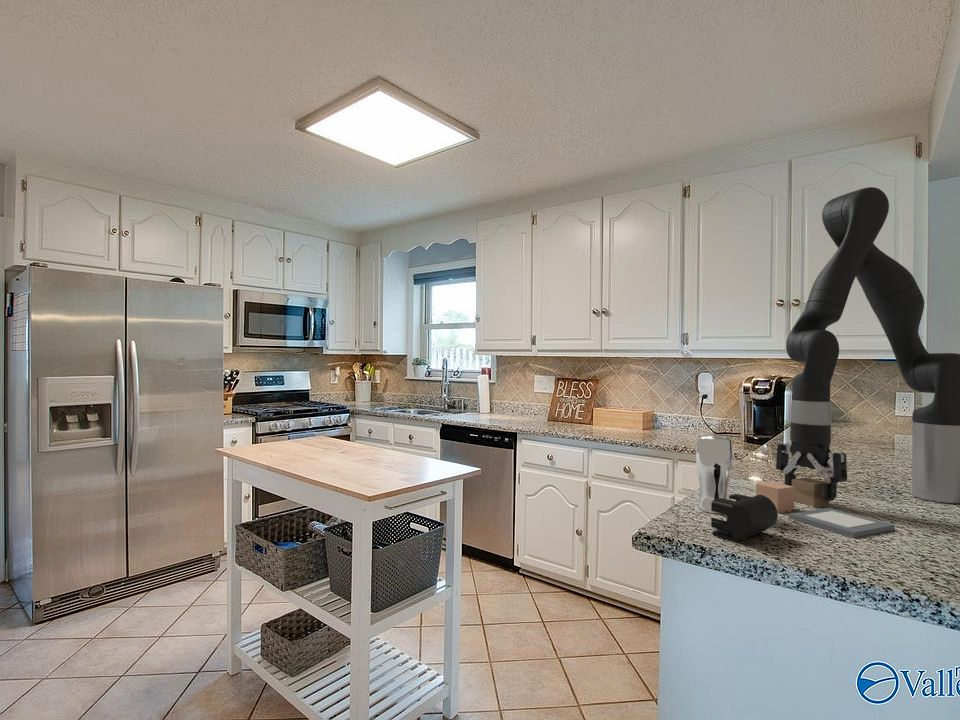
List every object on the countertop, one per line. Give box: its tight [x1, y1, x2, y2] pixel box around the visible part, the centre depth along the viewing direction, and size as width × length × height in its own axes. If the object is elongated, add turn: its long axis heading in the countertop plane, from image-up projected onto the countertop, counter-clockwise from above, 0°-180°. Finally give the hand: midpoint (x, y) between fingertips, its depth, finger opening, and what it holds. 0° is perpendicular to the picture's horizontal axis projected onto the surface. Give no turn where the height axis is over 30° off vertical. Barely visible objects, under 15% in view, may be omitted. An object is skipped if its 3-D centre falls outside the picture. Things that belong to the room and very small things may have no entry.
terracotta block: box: [755, 481, 795, 513], centre depth 109 cm, size 5×5×5 cm
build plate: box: [788, 507, 896, 539], centre depth 98 cm, size 12×12×1 cm
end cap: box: [710, 493, 779, 543], centre depth 91 cm, size 10×7×7 cm
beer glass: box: [695, 434, 734, 515], centre depth 107 cm, size 7×7×15 cm
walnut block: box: [792, 477, 830, 508], centre depth 113 cm, size 5×5×5 cm
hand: (809, 495), depth 113 cm, fingers open, 8 cm apart
